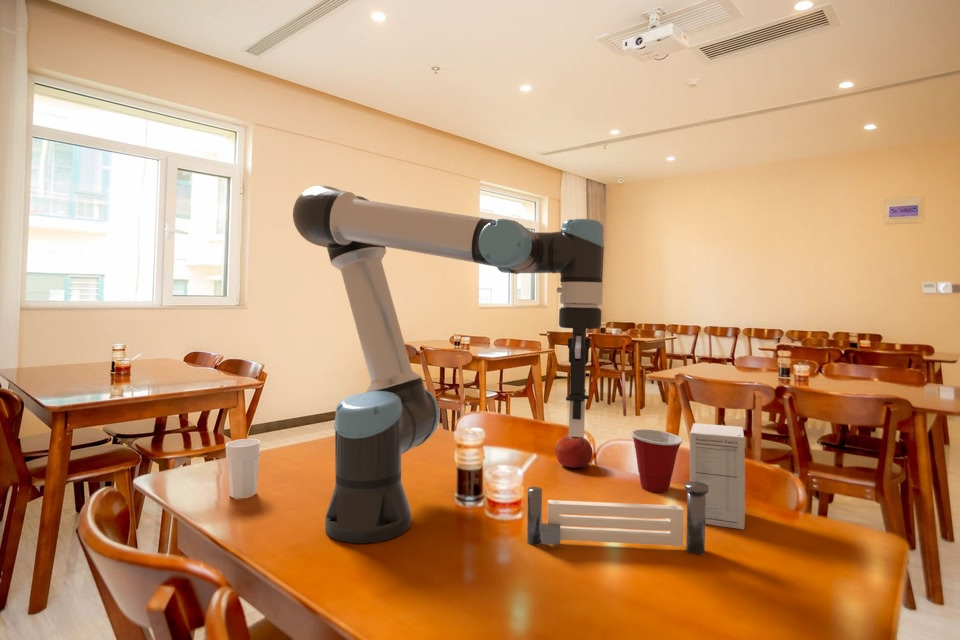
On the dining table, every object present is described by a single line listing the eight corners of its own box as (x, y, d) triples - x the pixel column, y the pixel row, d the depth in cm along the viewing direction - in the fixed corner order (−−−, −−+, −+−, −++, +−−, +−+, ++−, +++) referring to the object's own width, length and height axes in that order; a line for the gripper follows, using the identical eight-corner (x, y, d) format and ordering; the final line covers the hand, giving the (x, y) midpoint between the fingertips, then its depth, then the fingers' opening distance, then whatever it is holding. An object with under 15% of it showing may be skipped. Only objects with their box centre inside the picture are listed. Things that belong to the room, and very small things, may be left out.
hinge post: (687, 555, 86) (688, 488, 86) (681, 545, 90) (682, 481, 89) (710, 556, 86) (711, 489, 85) (703, 546, 89) (704, 481, 89)
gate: (547, 539, 89) (547, 503, 89) (547, 534, 91) (547, 499, 91) (683, 546, 87) (683, 509, 87) (680, 541, 89) (680, 505, 89)
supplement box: (744, 513, 104) (745, 426, 103) (745, 531, 95) (747, 437, 95) (691, 505, 108) (692, 421, 107) (687, 521, 99) (689, 431, 99)
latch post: (526, 549, 88) (527, 494, 88) (527, 538, 92) (527, 486, 92) (560, 550, 87) (560, 496, 87) (559, 540, 91) (559, 487, 91)
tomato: (554, 460, 138) (555, 429, 138) (591, 462, 137) (591, 431, 137) (554, 471, 129) (555, 438, 129) (593, 473, 128) (594, 440, 128)
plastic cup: (677, 500, 110) (678, 442, 110) (625, 491, 115) (625, 436, 115) (686, 485, 119) (686, 432, 119) (636, 477, 125) (637, 426, 124)
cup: (218, 497, 110) (218, 444, 110) (243, 487, 117) (243, 437, 116) (242, 502, 108) (242, 448, 108) (267, 492, 114) (267, 440, 114)
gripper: (562, 305, 104) (558, 426, 105) (556, 305, 91) (552, 443, 92) (601, 306, 102) (597, 429, 103) (601, 307, 90) (597, 446, 91)
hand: (576, 435), depth 98 cm, fingers closed
